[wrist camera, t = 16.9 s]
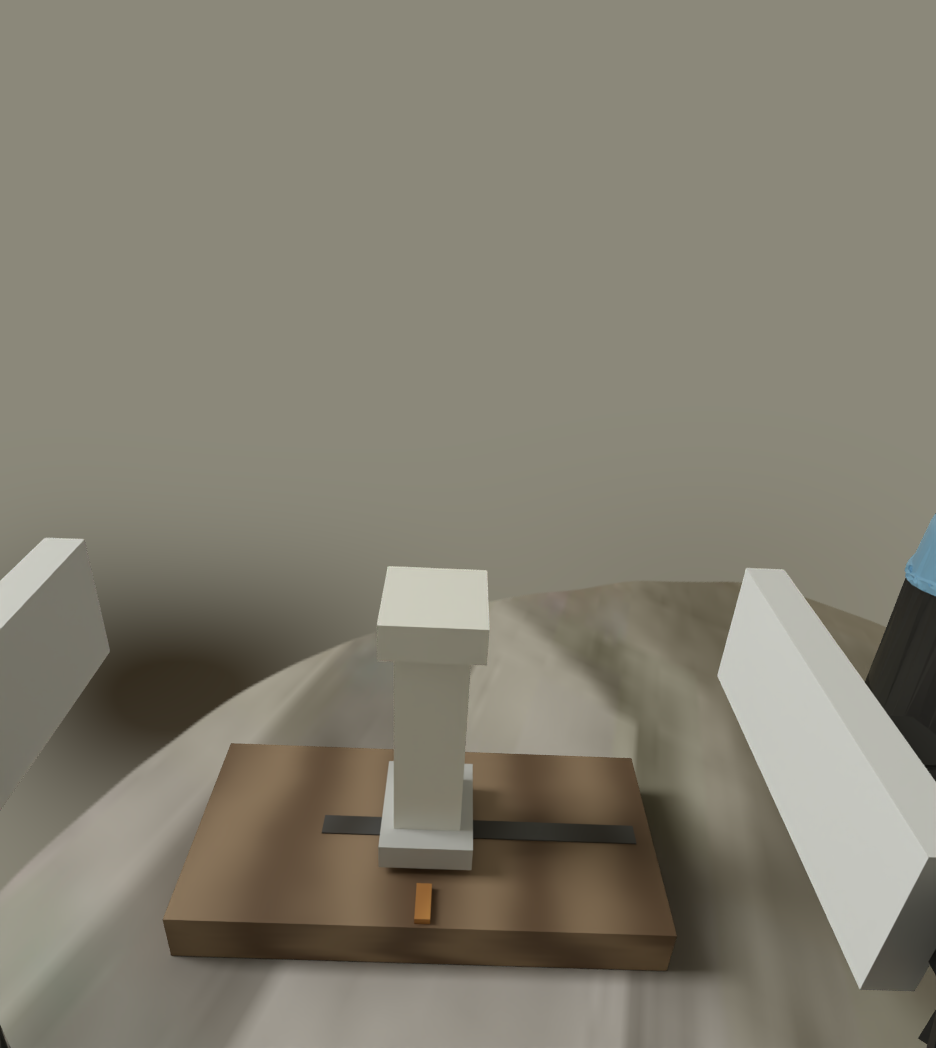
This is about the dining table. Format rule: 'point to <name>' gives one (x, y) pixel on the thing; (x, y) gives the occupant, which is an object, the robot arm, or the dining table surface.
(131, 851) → the dining table surface
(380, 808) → the fader console
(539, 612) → the dining table surface
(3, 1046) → the spotted tube
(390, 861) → the fader knob
